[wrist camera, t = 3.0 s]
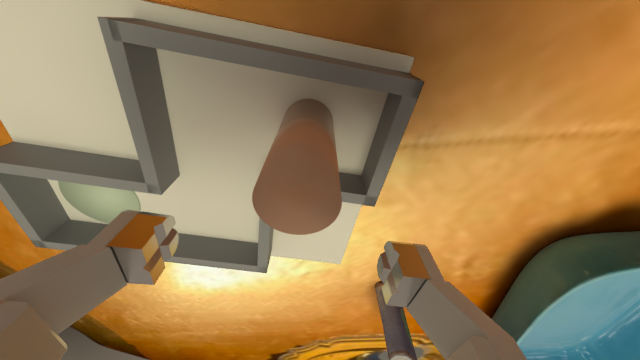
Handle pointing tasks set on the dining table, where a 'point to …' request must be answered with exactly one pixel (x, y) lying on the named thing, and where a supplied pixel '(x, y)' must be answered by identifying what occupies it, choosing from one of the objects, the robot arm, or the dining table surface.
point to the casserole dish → (578, 300)
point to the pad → (99, 200)
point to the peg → (300, 173)
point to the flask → (395, 329)
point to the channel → (184, 121)
